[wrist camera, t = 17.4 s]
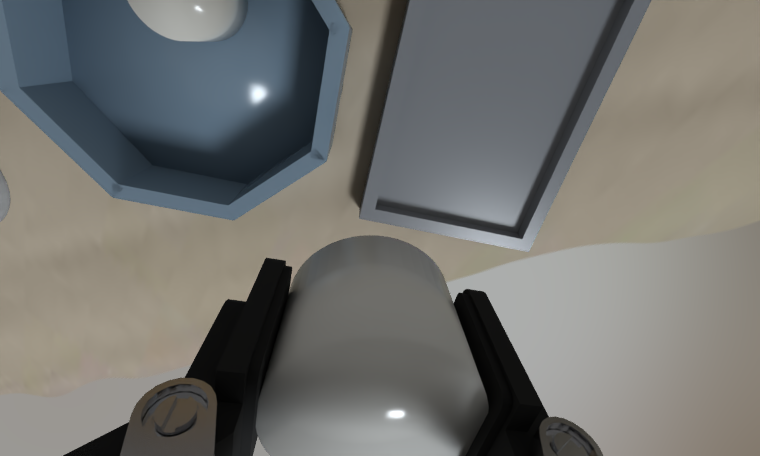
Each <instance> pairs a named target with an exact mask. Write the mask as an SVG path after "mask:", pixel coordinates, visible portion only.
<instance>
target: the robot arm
mask: <svg viewBox="0 0 760 456" xmlns="http://www.w3.org/2000/svg"><path fill="white" fill-rule="evenodd" d="M291 273H292V267H290V266H286V261H283V260H277V259H271V258H266V259H265V261H264V263H263V265H262V268H261V270H260V272H259V274H258V277H257V279H256V281H255V283H254V285H253V288H252V290H251V292H250V294H249V297H248V299H247V301H246V302H244V301H237V300H229V299H228V300H226V301H225V303H224V305H223V306H222V308H221V310H220V312H219V314H218V316H217V318H216V320H215V322H214V323H213V325H212V327H211V329H210V331H209V333H208V335H207V337H206V339H205V340H204V342H203V344H202V346H201V348H200V350H199V352H198V354H197V356H196V357H195V359H194V361H193V363H192V365H191V367H190V369H189V371H188V373H187V374H186V376H185V378H178V379H173V380H169V381H167V382H164V383H162V384H160V385H157V386H155V387H154V388H153V389H151V390H150V391H148V392H147V393H146V394H145V395H144V396H143V397H142V398H141V399H140V400H139V401H138V403H137V404H136V406H135V408H134V410H133V412H132V414H131V417H130V421H129V422H128V423H126V424H124V425H122V426H120V427H119V428H117V429H115V430H113V431H111V432H109V433H107V434H105V435H103V436H101V437H99V438H97V439H95V440H93V441H91V442H89V443H87V444H85V445H83V446H81V447H79V448H77V449H75V450H73V451H71V452H69V453H67V454H65V455H63V456H253V452H254V448H255V444H256V441H257V437H258V435H257V431H256V418H257V408H258V399H259V396H260V392H261V389H262V385H263V382H264V378H265V375H266V371H267V368H268V364H269V361H270V358H271V354H272V351H273V347H274V344H275V340H276V337H277V333H278V330H279V326H280V323H281V319H282V316H283V312H284V309H285V306H286V302H287V299H288V295H289V288H290V281H291ZM454 306H455V309H456V312H457V315H458V317H459V320H460V323H461V326H462V328H463V331H464V334H465V337H466V340H467V342H468V345H469V348H470V351H471V353H472V356H473V359H474V362H475V364H476V367H477V370H478V373H479V375H480V378H481V381H482V384H483V387H484V389H485V392H486V395H487V399H488V405H489V409H488V414H487V416H486V418H485V420H484V422H483V424H482V425H481V427H480V429H479V431H478V433H477V435H476V437H475V439H474V441H473V442H472V444H471V446H470V448H469V450H468V452H467V454H466V455H465V456H603V454H602V452H601V450H600V448H599V446H598V445H597V444H596V442H595V441H594V440H593V439H592V438H591V436H589V435H588V434H587V433H586V432H585V431H584V430H583V429H582V428H580V427H579V426H577V425H576V424H574V423H573V422H570V421H568V420H566V419H564V418H559V417H549V416H548V415H547V412H546V410H545V409H544V407H543V405H542V403H541V401H540V399H539V397H538V395H537V393H536V391H535V389H534V387H533V385H532V383H531V381H530V379H529V377H528V375H527V373H526V372H525V369H524V367H523V365H522V364H521V361H520V359H519V357H518V355H517V354H516V352H515V350H514V348H513V346H512V344H511V342H510V340H509V338H508V336H507V334H506V332H505V330H504V328H503V326H502V325H501V322H500V320H499V318H498V316H497V314H496V313H495V311H494V309H493V307H492V305H491V303H490V301H489V299H488V297H487V295H486V293H484V292H482V291H476V290H470V289H466V290H464V291H463V293H458V295H457V297H456V299H455V302H454Z"/></svg>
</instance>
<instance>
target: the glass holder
mask: <svg viewBox="0 0 760 456" xmlns="http://www.w3.org/2000/svg"><path fill="white" fill-rule="evenodd" d="M9 206H10V192H9V188H8V185H7V182H6V180H5V178H4V176H3V174H2V172H1V171H0V222H1V221H2V220H3V219H4V217H5V216H6V215H7V212H8V210H9Z"/></svg>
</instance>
